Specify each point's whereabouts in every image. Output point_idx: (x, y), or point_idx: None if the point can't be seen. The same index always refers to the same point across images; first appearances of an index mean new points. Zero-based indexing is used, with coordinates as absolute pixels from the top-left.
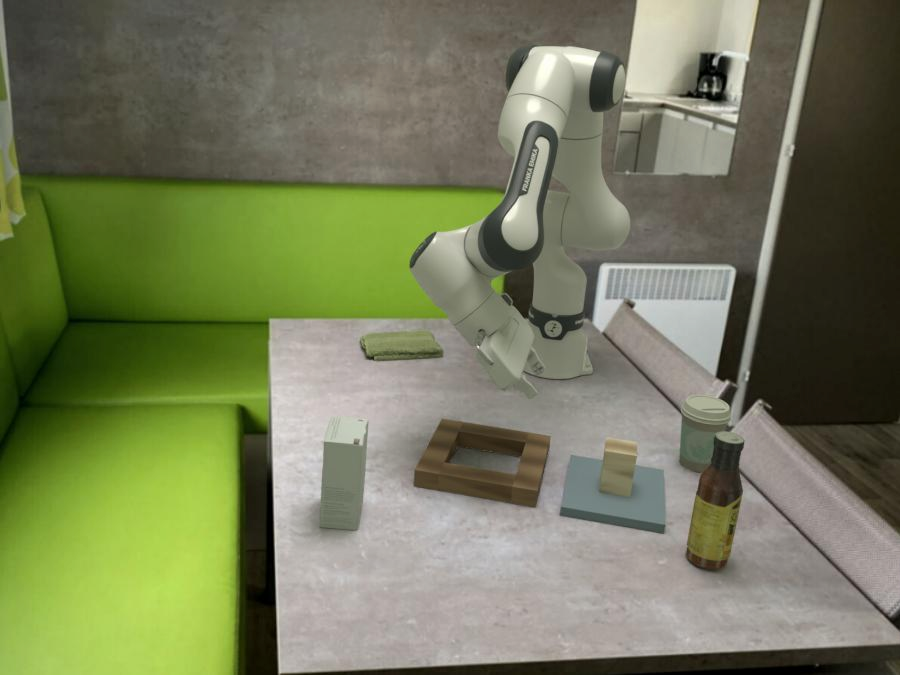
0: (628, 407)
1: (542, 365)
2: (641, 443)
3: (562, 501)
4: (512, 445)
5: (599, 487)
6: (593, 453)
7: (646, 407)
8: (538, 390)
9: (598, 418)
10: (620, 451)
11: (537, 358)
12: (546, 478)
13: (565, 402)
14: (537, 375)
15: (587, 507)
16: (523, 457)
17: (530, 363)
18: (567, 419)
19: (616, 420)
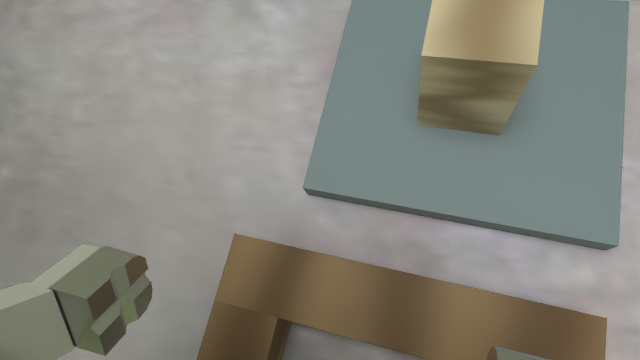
0: (54, 44)
1: (90, 264)
2: (210, 31)
3: (584, 238)
4: (272, 357)
5: (495, 130)
6: (259, 133)
7: (58, 11)
8: (496, 348)
9: (95, 108)
10: (525, 18)
11: (20, 305)
12: (402, 265)
13: (13, 174)
14: (149, 300)
15: (599, 172)
16: (381, 338)
17: (43, 356)
18: (94, 178)
19: (107, 71)
